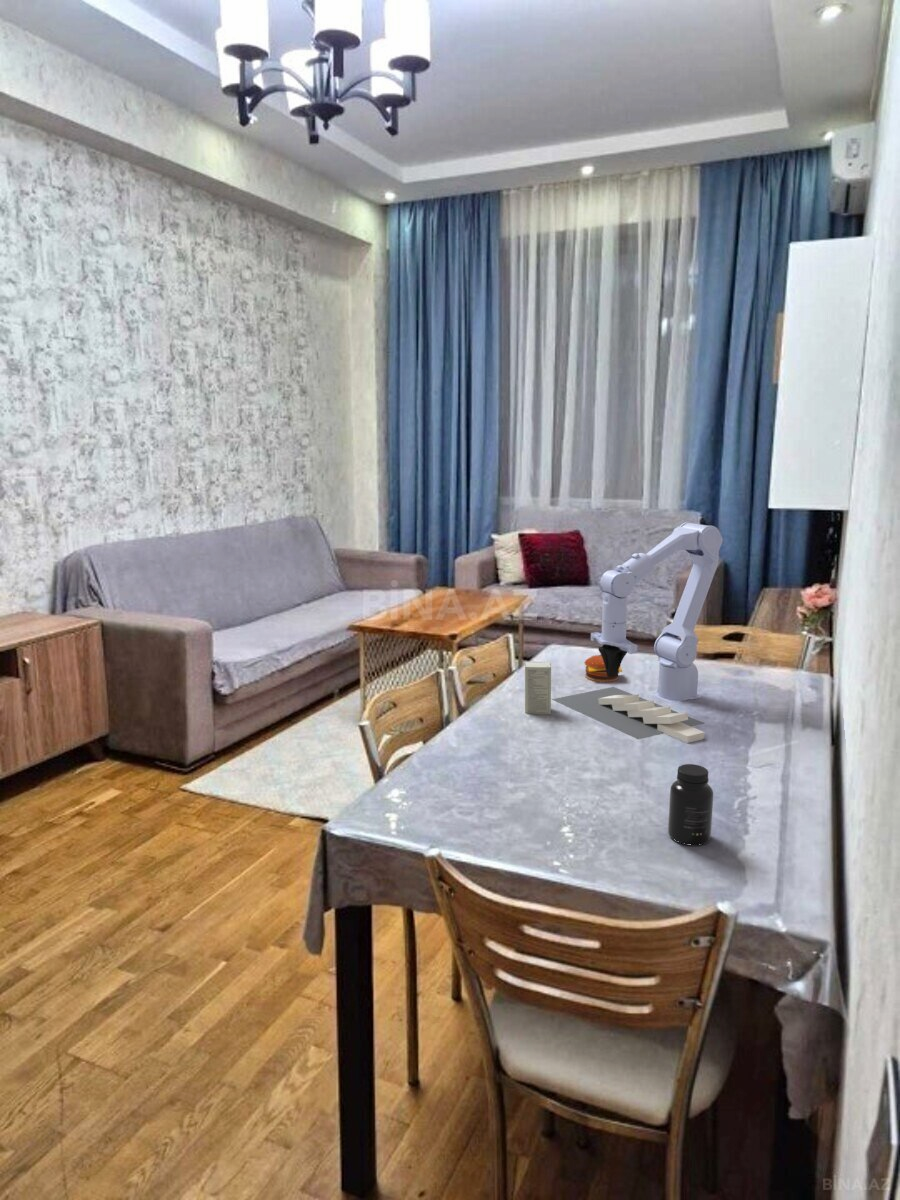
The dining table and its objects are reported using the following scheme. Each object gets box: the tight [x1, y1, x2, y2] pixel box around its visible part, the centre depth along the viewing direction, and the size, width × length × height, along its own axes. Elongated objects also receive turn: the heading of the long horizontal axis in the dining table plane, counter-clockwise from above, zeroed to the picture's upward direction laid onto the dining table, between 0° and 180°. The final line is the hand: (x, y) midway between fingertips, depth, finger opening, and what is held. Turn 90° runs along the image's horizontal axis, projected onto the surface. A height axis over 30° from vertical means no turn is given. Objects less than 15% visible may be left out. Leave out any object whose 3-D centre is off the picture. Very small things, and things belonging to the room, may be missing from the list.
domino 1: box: [598, 694, 640, 705], centre depth 196 cm, size 2×5×9 cm
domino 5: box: [657, 722, 705, 744], centre depth 179 cm, size 2×5×9 cm
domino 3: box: [627, 706, 672, 717], centre depth 187 cm, size 2×5×9 cm
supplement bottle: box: [667, 763, 714, 846], centre depth 134 cm, size 7×7×12 cm
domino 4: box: [643, 712, 689, 724], centre depth 183 cm, size 2×5×9 cm
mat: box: [551, 686, 704, 740], centre depth 195 cm, size 20×31×1 cm, turn 30°
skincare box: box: [524, 661, 552, 715], centre depth 194 cm, size 6×4×12 cm
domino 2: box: [612, 700, 655, 711], centre depth 192 cm, size 2×5×9 cm
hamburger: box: [583, 654, 623, 683], centre depth 220 cm, size 9×10×7 cm
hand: (612, 675), depth 197 cm, fingers closed
